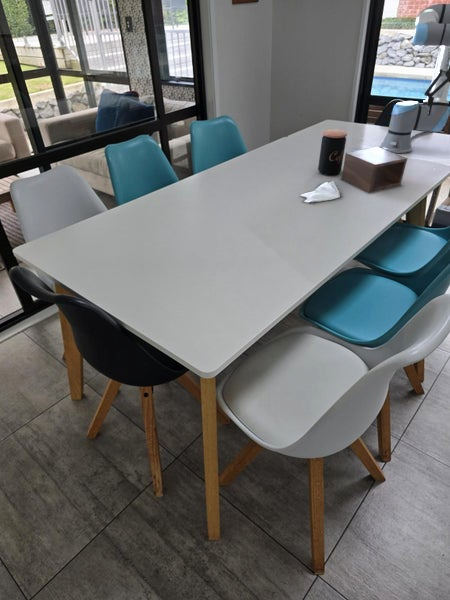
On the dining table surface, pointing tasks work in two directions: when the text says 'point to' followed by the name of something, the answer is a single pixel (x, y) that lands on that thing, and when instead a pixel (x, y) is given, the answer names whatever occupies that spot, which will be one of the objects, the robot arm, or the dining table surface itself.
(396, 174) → the dark wooden box
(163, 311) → the dining table surface
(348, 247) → the dining table surface
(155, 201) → the dining table surface
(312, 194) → the cloth
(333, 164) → the coffee jar
